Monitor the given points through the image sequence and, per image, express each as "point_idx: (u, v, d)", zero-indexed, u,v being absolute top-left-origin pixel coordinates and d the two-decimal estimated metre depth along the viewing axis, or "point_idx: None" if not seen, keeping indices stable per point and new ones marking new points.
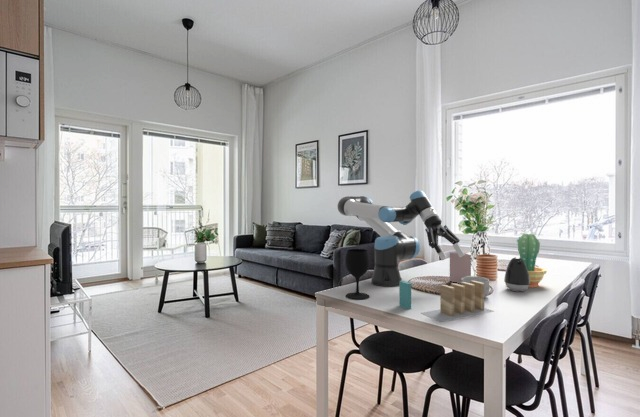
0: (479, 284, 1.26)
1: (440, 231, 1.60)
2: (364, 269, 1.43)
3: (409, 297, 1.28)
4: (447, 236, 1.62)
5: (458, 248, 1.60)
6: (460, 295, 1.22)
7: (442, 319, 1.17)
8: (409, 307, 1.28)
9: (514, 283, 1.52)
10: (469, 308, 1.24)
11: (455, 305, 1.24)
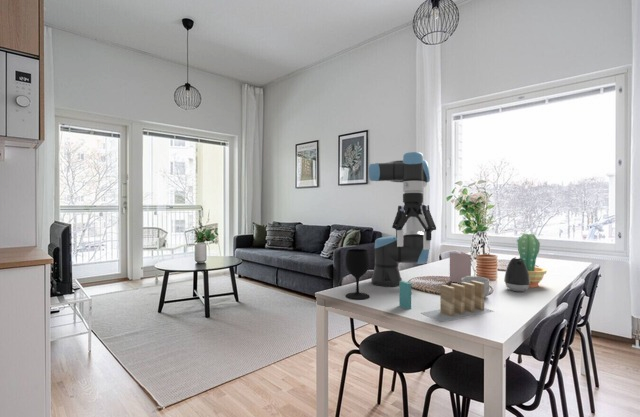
0: (479, 284, 1.26)
1: (410, 213, 1.31)
2: (364, 269, 1.43)
3: (409, 297, 1.28)
4: None
5: None
6: (460, 295, 1.22)
7: (442, 319, 1.17)
8: (409, 307, 1.28)
9: (514, 283, 1.52)
10: (469, 308, 1.24)
11: (455, 305, 1.24)
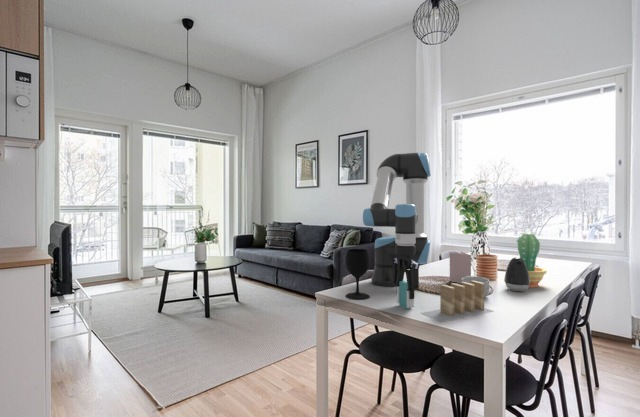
0: (479, 284, 1.26)
1: (402, 265, 1.30)
2: (364, 269, 1.43)
3: None
4: None
5: None
6: (460, 295, 1.22)
7: (442, 319, 1.17)
8: None
9: (514, 283, 1.52)
10: (469, 308, 1.24)
11: (455, 305, 1.24)
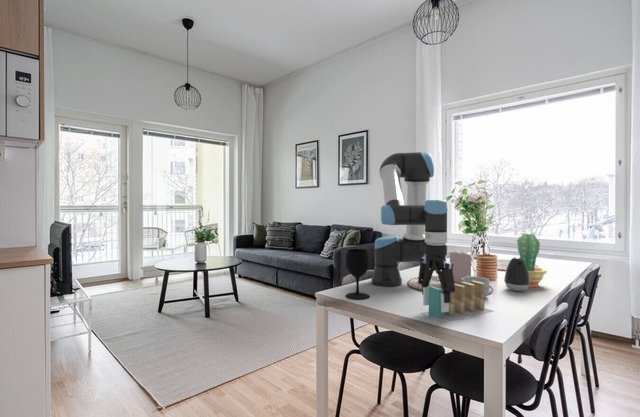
0: (479, 284, 1.26)
1: (433, 266, 1.19)
2: (364, 269, 1.43)
3: (440, 304, 1.17)
4: None
5: None
6: (460, 295, 1.22)
7: (442, 319, 1.17)
8: (440, 315, 1.18)
9: (514, 283, 1.52)
10: (469, 308, 1.24)
11: (455, 305, 1.24)
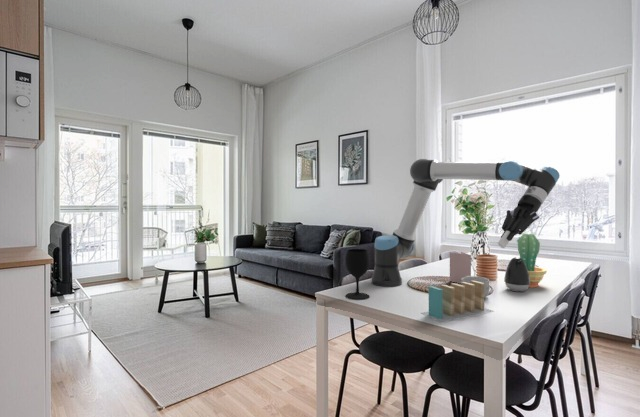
0: (479, 284, 1.26)
1: (520, 213, 1.35)
2: (364, 269, 1.43)
3: (440, 304, 1.17)
4: None
5: None
6: (460, 295, 1.22)
7: (442, 319, 1.17)
8: (440, 315, 1.18)
9: (514, 283, 1.52)
10: (469, 308, 1.24)
11: (455, 305, 1.24)
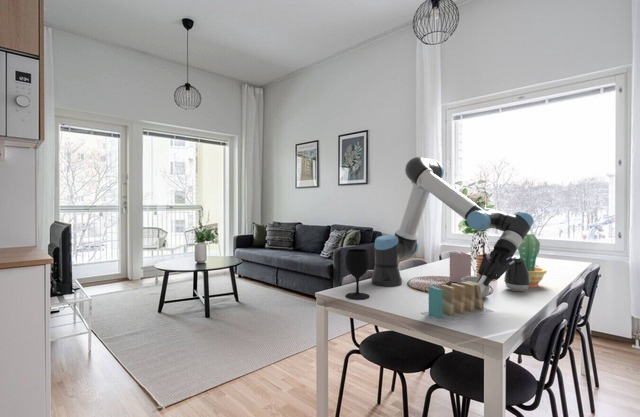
0: None
1: (496, 257, 1.33)
2: (364, 269, 1.43)
3: (440, 304, 1.17)
4: None
5: None
6: (460, 295, 1.22)
7: (442, 319, 1.17)
8: (440, 315, 1.18)
9: (514, 283, 1.52)
10: (469, 308, 1.24)
11: (455, 305, 1.24)
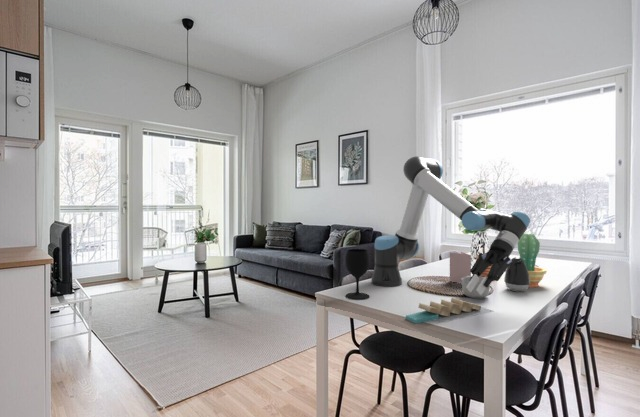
0: None
1: (492, 257, 1.32)
2: (364, 269, 1.43)
3: (427, 319, 1.15)
4: None
5: None
6: (445, 310, 1.19)
7: (442, 319, 1.17)
8: (436, 317, 1.17)
9: (514, 283, 1.52)
10: None
11: None
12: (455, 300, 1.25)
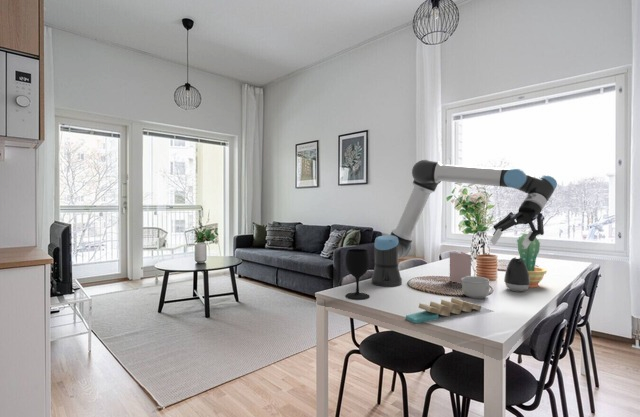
0: None
1: (521, 218, 1.39)
2: (364, 269, 1.43)
3: (427, 319, 1.15)
4: (529, 224, 1.35)
5: None
6: (445, 310, 1.19)
7: (442, 319, 1.17)
8: (436, 317, 1.17)
9: (514, 283, 1.52)
10: None
11: None
12: (455, 300, 1.25)
